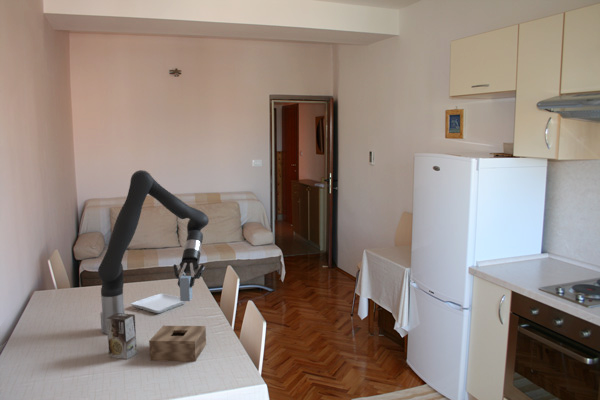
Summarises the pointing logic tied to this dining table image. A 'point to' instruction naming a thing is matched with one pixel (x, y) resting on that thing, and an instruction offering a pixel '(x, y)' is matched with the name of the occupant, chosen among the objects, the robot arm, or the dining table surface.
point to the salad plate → (158, 303)
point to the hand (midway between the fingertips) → (185, 286)
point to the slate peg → (185, 288)
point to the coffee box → (121, 335)
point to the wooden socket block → (177, 343)
